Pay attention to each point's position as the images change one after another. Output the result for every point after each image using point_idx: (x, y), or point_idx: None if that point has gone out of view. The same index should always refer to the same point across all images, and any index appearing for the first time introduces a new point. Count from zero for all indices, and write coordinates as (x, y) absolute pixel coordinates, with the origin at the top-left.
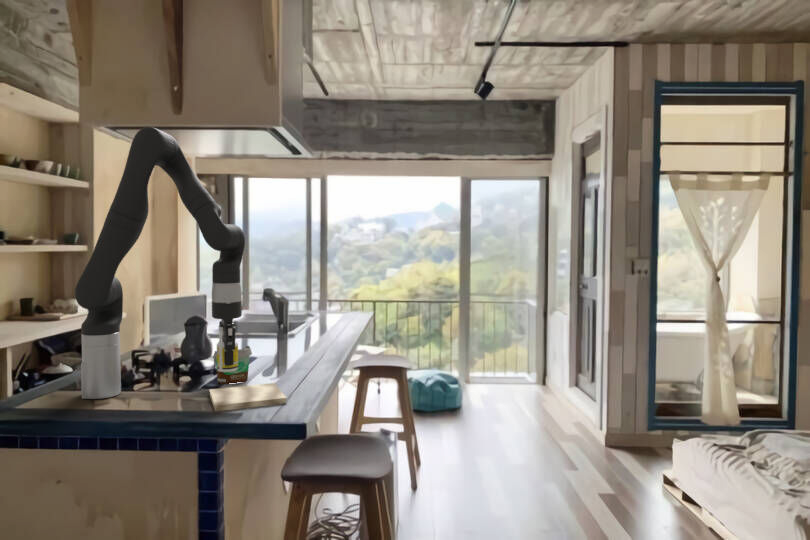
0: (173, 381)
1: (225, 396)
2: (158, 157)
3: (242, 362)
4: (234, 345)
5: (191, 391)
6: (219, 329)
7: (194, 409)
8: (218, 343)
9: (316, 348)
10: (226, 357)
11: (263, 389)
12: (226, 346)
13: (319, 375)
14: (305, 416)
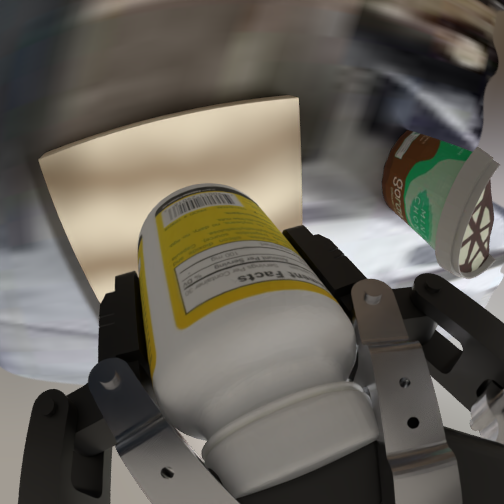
0: (457, 18)
1: (165, 175)
2: None
3: (428, 238)
4: (76, 463)
5: (352, 37)
6: (393, 489)
7: (84, 63)
8: (229, 356)
9: (487, 301)
10: (100, 331)
11: None
12: (35, 434)
13: None
14: (37, 376)
